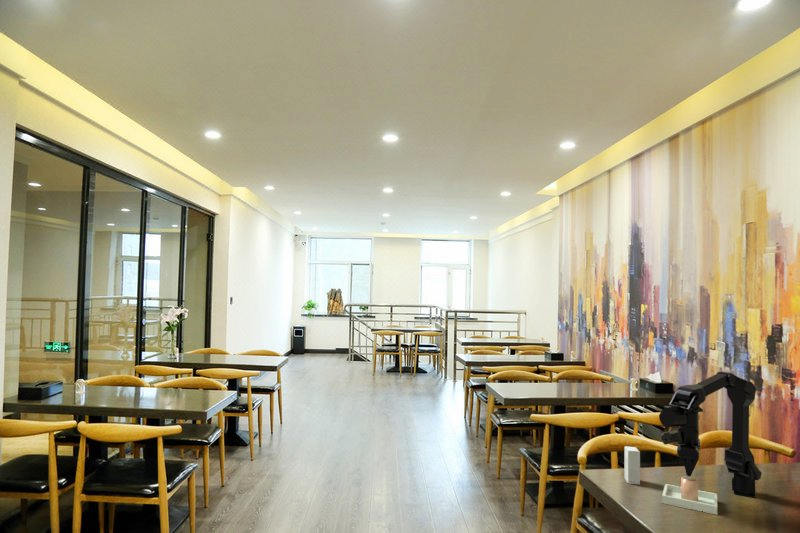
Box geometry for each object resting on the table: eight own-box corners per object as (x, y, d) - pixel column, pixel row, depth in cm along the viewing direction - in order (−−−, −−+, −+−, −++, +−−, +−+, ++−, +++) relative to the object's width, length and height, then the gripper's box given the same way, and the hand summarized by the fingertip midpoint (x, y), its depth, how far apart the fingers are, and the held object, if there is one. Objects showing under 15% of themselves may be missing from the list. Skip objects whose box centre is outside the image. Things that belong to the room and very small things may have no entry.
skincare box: (640, 485, 183) (640, 451, 184) (628, 483, 184) (627, 450, 185) (636, 479, 189) (636, 446, 190) (624, 478, 190) (624, 445, 191)
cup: (698, 499, 170) (698, 478, 170) (698, 504, 165) (698, 482, 166) (681, 496, 172) (681, 475, 173) (680, 500, 168) (680, 479, 168)
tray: (717, 501, 170) (717, 493, 170) (717, 514, 159) (717, 506, 159) (665, 490, 178) (665, 483, 178) (662, 503, 168) (662, 495, 168)
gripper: (664, 416, 182) (664, 460, 181) (659, 427, 167) (659, 475, 166) (700, 421, 176) (700, 466, 176) (698, 432, 161) (699, 482, 160)
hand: (689, 472), depth 169 cm, fingers open, 9 cm apart
